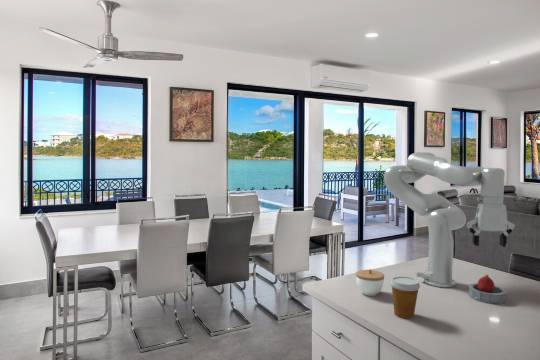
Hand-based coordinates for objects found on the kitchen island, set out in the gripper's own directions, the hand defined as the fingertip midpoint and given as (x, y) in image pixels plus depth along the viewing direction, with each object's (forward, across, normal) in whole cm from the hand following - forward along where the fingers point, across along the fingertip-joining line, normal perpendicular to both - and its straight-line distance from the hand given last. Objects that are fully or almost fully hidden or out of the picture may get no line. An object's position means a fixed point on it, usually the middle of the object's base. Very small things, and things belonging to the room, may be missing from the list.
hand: (489, 245), depth 150 cm
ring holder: (+20, 0, 0) cm, 20 cm away
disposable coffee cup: (+20, -36, -19) cm, 46 cm away
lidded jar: (+21, -44, +1) cm, 48 cm away
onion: (+19, 0, 0) cm, 19 cm away
